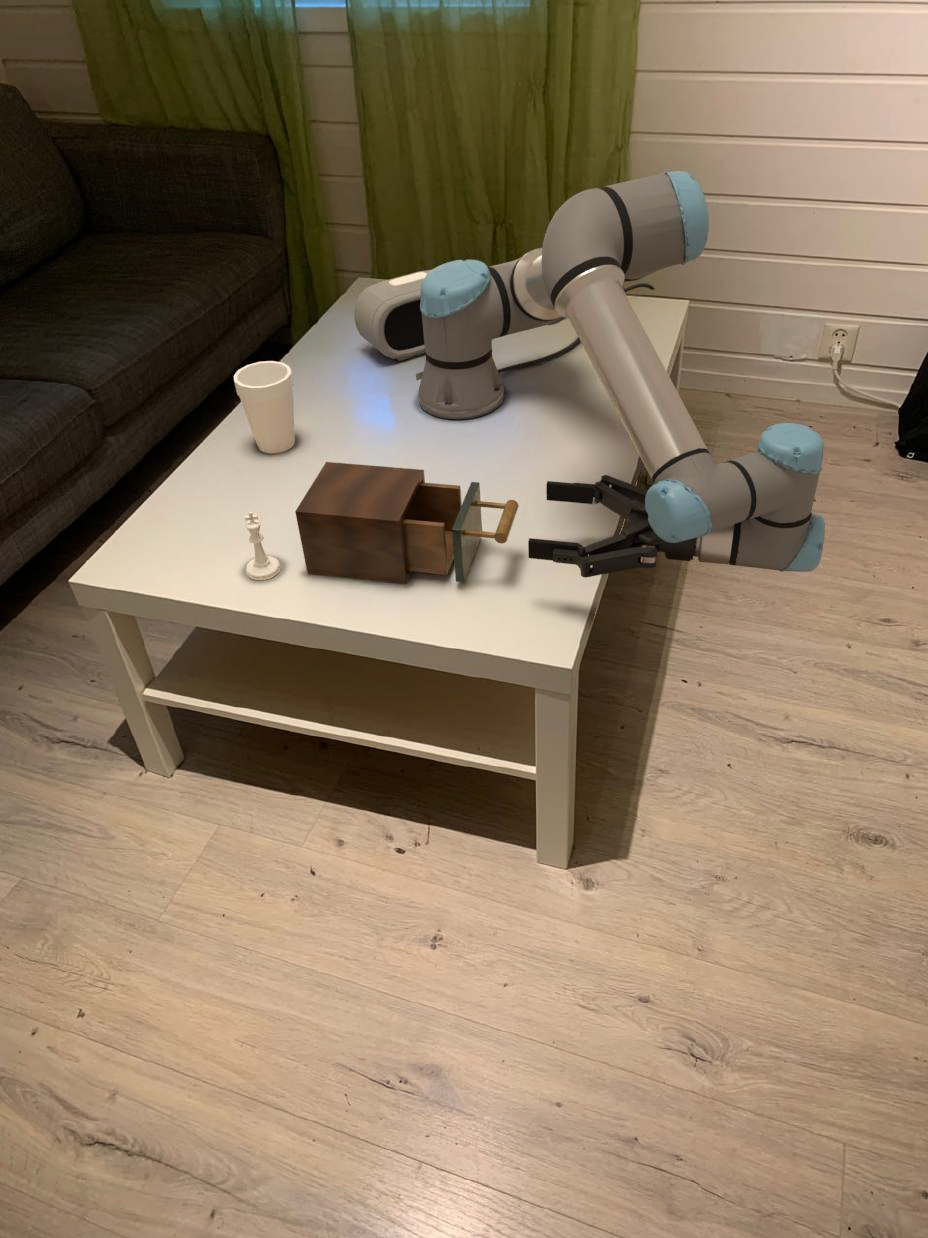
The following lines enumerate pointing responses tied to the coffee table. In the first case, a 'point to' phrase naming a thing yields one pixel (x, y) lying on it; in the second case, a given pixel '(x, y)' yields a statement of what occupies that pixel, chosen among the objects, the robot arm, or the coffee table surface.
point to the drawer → (449, 528)
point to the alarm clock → (393, 316)
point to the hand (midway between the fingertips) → (537, 518)
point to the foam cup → (268, 403)
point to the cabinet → (357, 521)
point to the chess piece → (259, 554)
